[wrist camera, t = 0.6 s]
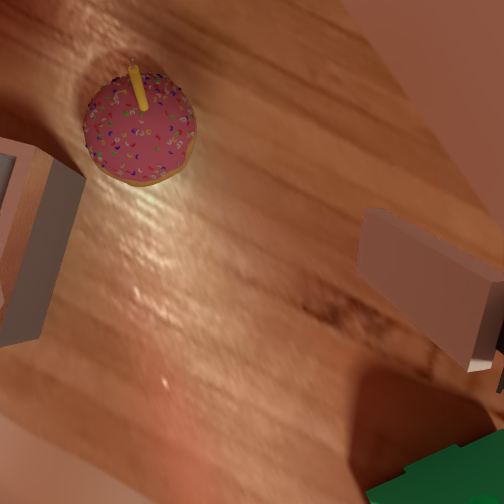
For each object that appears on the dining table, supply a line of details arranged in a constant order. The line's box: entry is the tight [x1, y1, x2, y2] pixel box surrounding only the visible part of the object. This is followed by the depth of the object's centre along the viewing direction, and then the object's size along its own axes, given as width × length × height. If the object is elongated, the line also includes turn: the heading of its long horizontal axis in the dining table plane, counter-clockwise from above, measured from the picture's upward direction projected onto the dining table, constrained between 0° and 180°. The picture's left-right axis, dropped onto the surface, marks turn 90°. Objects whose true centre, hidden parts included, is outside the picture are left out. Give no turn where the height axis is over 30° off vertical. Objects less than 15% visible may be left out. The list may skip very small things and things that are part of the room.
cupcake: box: [83, 57, 197, 187], centre depth 31 cm, size 9×8×12 cm
